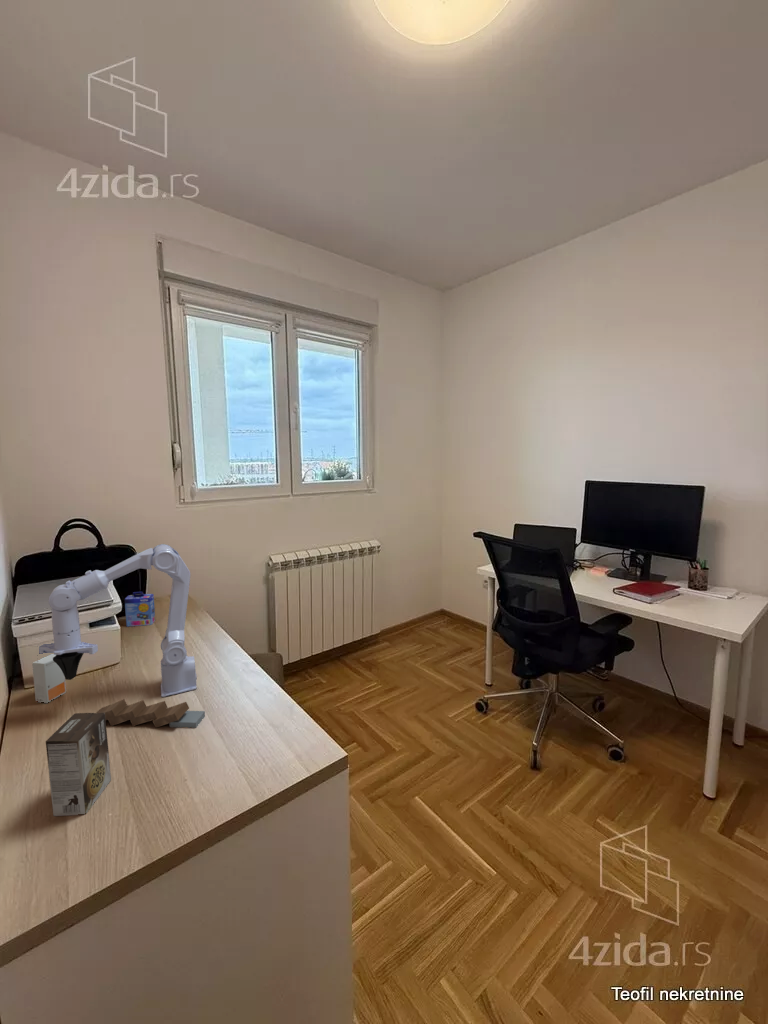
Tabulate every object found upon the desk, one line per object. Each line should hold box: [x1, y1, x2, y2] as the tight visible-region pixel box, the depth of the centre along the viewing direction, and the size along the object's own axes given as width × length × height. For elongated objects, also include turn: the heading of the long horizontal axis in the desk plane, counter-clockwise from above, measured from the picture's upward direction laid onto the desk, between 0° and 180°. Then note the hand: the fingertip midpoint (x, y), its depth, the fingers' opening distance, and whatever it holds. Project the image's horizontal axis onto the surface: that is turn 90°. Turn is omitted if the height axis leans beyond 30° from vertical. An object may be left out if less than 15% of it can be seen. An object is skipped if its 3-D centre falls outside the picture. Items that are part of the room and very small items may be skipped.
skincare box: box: [31, 654, 67, 704], centre depth 121 cm, size 6×4×12 cm
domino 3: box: [130, 700, 169, 727], centre depth 111 cm, size 2×5×7 cm
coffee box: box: [45, 712, 112, 817], centre depth 85 cm, size 9×6×16 cm
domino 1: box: [95, 698, 128, 721], centre depth 111 cm, size 2×5×7 cm
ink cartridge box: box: [124, 591, 156, 627], centre depth 176 cm, size 10×6×14 cm, turn 104°
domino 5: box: [169, 710, 206, 729], centre depth 111 cm, size 2×5×7 cm
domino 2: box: [107, 699, 147, 727], centre depth 111 cm, size 2×5×7 cm
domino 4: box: [152, 701, 190, 728], centre depth 110 cm, size 2×5×7 cm
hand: (71, 677), depth 113 cm, fingers closed
